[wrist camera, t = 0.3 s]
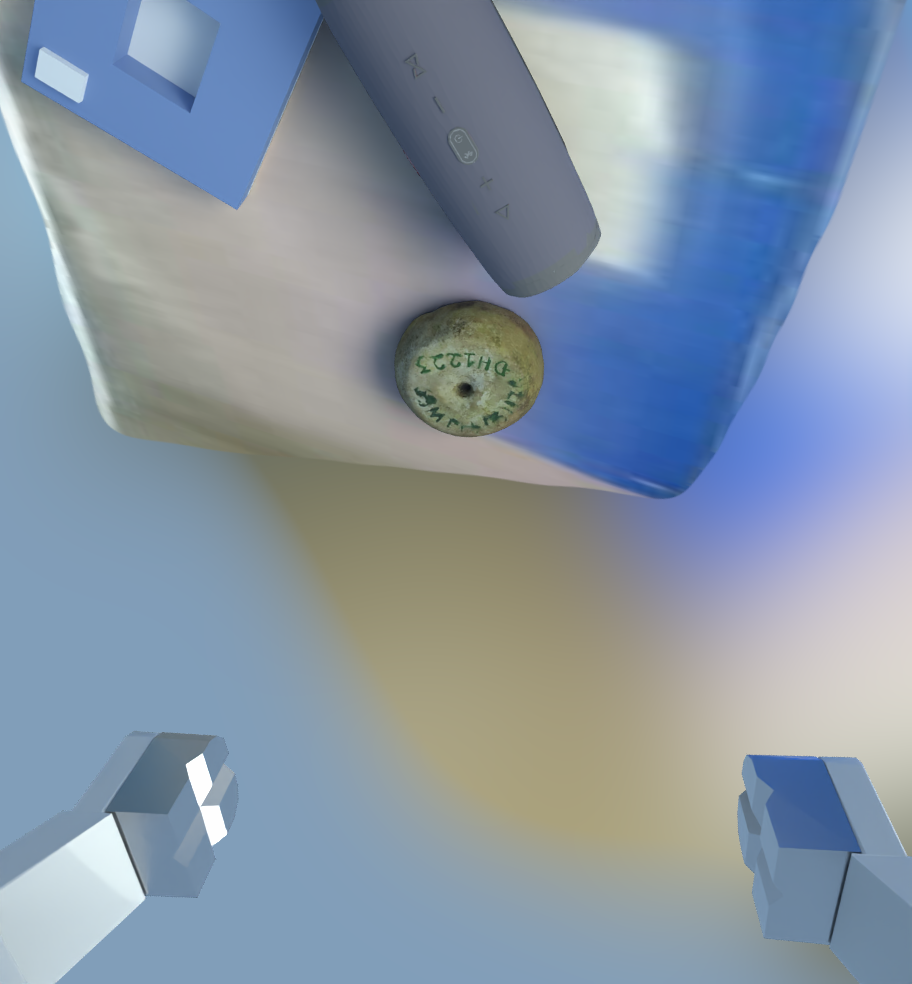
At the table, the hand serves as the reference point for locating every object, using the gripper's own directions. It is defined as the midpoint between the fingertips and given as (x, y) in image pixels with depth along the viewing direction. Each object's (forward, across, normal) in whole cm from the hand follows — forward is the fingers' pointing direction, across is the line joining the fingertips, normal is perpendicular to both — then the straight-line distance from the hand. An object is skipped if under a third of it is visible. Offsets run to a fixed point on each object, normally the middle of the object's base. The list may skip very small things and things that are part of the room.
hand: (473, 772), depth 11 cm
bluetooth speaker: (+50, +4, -12) cm, 52 cm away
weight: (+57, +7, +10) cm, 59 cm away
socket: (+48, +24, -17) cm, 56 cm away
